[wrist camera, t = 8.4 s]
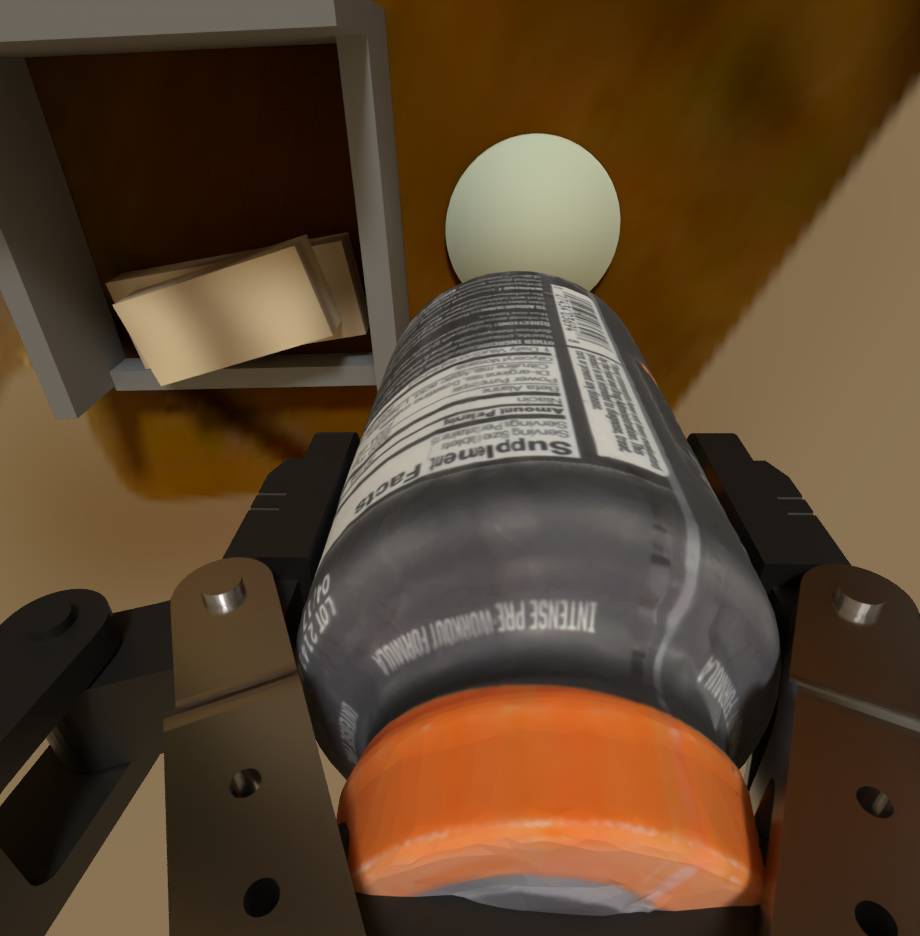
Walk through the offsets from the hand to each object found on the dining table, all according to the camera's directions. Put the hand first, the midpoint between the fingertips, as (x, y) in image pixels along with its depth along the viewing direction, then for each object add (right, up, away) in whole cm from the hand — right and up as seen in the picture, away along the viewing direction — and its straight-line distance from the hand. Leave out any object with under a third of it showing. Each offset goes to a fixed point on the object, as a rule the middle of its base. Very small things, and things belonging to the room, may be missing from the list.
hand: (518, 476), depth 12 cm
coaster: (+3, +13, +21) cm, 25 cm away
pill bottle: (0, +2, +3) cm, 4 cm away
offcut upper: (-13, +9, +22) cm, 27 cm away
